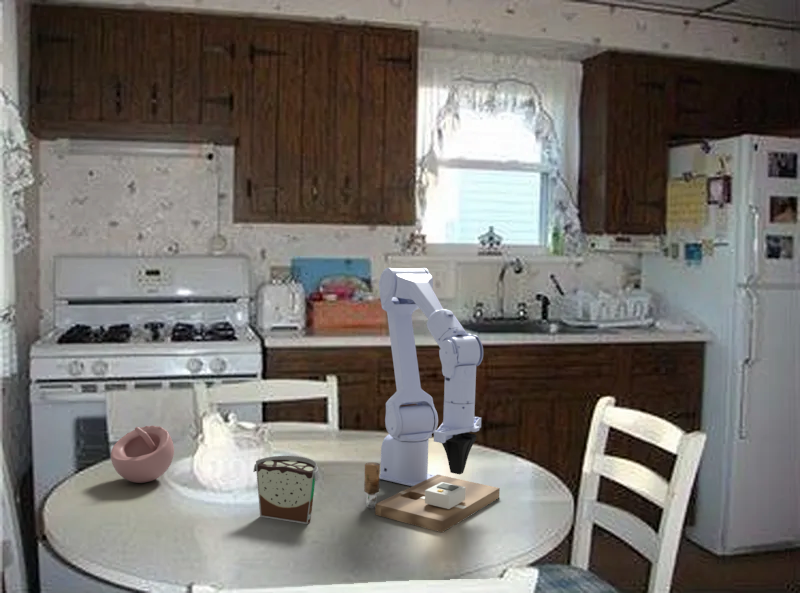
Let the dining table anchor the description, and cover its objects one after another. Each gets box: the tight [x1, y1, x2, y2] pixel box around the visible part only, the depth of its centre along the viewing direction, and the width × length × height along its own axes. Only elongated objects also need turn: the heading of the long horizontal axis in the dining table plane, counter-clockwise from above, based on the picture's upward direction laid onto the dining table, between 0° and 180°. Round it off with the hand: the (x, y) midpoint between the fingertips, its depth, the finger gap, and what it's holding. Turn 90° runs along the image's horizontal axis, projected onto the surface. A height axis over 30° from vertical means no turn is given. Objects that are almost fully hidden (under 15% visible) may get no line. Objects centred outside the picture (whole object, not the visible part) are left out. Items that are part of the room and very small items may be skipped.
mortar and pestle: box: [110, 425, 175, 484], centre depth 154 cm, size 12×12×11 cm
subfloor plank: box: [374, 474, 500, 533], centre depth 144 cm, size 14×22×2 cm, turn 147°
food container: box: [253, 455, 320, 525], centre depth 138 cm, size 12×6×10 cm, turn 71°
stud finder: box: [425, 482, 466, 509], centre depth 140 cm, size 5×6×3 cm
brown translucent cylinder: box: [363, 461, 381, 509], centre depth 143 cm, size 3×3×8 cm
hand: (456, 472), depth 143 cm, fingers closed
